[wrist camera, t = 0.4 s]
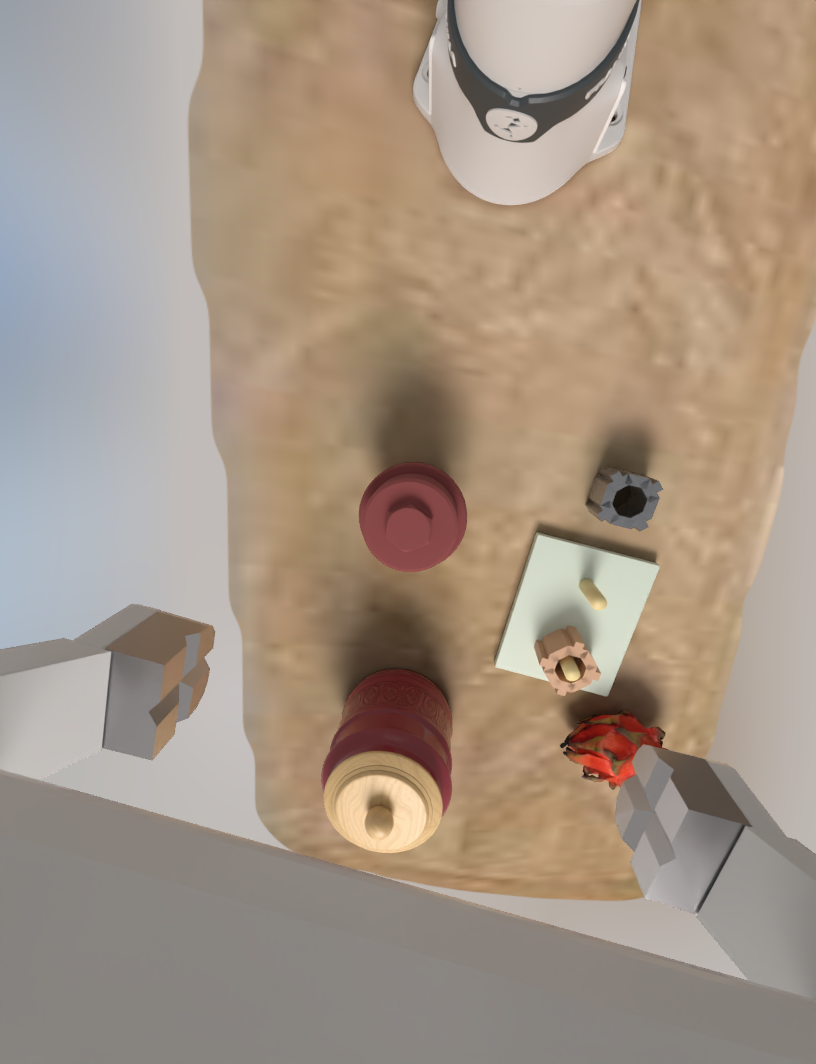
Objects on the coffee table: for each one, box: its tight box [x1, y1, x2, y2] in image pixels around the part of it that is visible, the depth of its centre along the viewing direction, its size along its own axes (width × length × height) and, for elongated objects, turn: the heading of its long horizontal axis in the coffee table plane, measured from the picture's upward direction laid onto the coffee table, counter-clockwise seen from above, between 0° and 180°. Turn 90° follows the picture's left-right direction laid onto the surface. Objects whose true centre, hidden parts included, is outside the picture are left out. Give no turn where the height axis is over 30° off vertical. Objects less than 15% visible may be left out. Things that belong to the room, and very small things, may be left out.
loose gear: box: [586, 465, 663, 531], centre depth 50 cm, size 5×5×4 cm
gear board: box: [494, 532, 660, 697], centre depth 53 cm, size 16×13×6 cm
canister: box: [321, 669, 452, 853], centre depth 52 cm, size 13×13×18 cm
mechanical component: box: [359, 462, 467, 572], centre depth 48 cm, size 12×10×10 cm
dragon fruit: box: [560, 711, 668, 790], centre depth 56 cm, size 8×8×12 cm
